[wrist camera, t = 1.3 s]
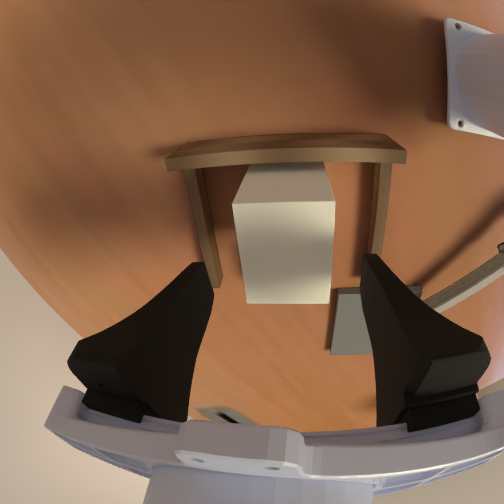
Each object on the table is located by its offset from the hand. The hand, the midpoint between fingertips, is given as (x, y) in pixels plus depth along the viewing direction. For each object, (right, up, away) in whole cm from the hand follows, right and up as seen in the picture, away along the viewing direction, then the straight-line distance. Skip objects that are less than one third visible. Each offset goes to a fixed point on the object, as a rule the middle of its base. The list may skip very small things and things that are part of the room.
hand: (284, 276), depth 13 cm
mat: (+10, -6, +14) cm, 18 cm away
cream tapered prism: (+1, +5, +7) cm, 9 cm away
